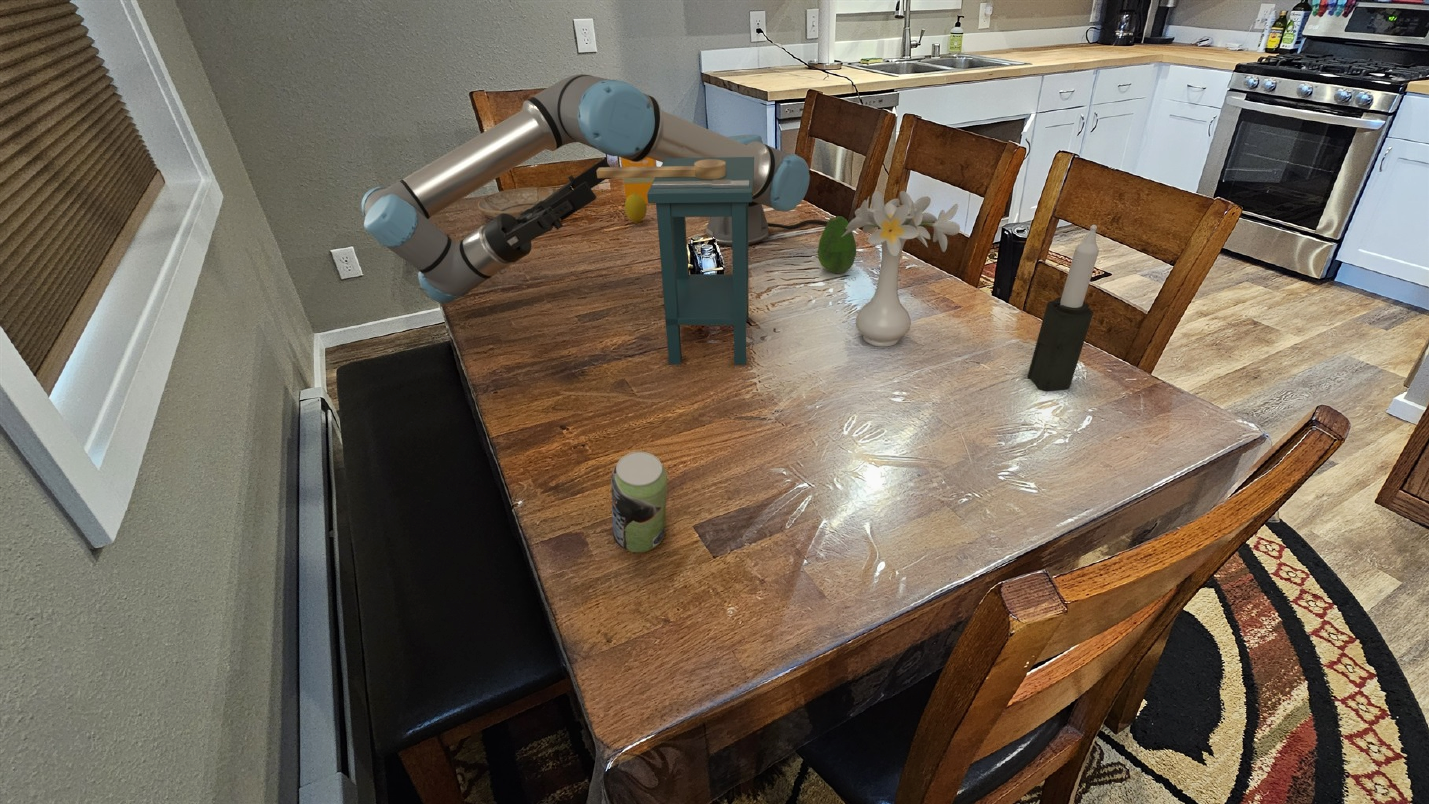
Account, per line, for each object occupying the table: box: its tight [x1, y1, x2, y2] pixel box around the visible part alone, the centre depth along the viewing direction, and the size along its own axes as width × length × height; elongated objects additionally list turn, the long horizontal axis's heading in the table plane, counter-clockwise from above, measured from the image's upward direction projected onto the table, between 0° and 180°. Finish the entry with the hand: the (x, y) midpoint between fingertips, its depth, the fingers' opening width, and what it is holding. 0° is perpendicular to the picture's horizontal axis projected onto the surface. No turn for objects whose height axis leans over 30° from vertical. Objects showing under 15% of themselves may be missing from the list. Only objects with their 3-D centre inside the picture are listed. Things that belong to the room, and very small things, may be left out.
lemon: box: [624, 193, 647, 225], centre depth 169 cm, size 6×6×8 cm
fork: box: [653, 180, 749, 189], centre depth 96 cm, size 14×2×1 cm, turn 86°
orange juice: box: [620, 157, 658, 205], centre depth 183 cm, size 8×9×20 cm
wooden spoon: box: [597, 159, 726, 179], centre depth 101 cm, size 20×5×2 cm, turn 86°
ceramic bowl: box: [477, 186, 559, 220], centre depth 178 cm, size 23×24×5 cm
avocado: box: [817, 215, 857, 274], centre depth 138 cm, size 8×8×12 cm
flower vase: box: [841, 190, 961, 348], centre depth 109 cm, size 13×18×25 cm
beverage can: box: [610, 451, 668, 553], centre depth 74 cm, size 6×7×12 cm
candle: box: [1027, 224, 1100, 392], centre depth 96 cm, size 5×5×25 cm
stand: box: [647, 157, 754, 366], centre depth 110 cm, size 15×20×29 cm
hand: (600, 177), depth 102 cm, fingers open, 13 cm apart
